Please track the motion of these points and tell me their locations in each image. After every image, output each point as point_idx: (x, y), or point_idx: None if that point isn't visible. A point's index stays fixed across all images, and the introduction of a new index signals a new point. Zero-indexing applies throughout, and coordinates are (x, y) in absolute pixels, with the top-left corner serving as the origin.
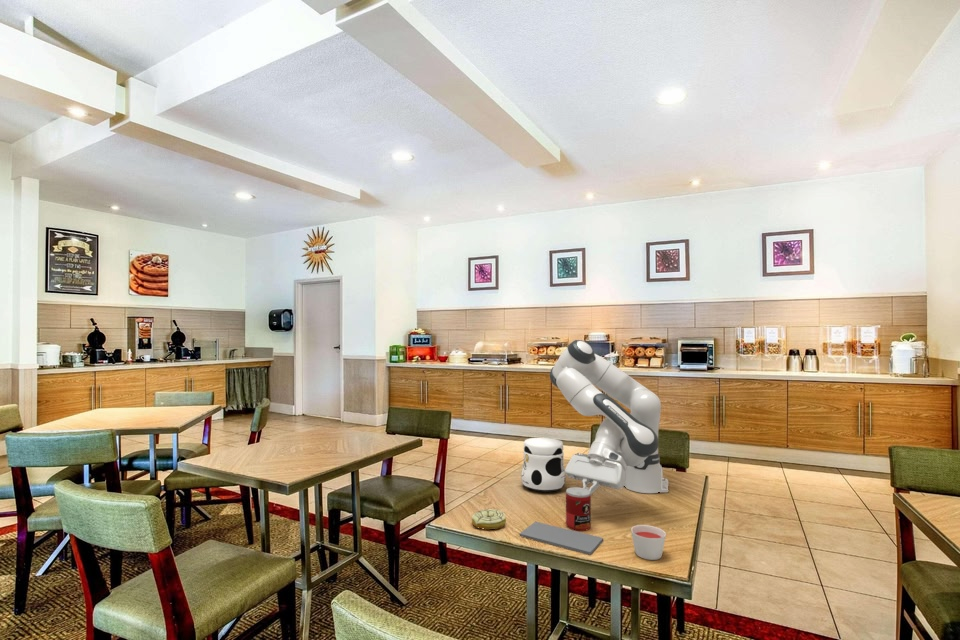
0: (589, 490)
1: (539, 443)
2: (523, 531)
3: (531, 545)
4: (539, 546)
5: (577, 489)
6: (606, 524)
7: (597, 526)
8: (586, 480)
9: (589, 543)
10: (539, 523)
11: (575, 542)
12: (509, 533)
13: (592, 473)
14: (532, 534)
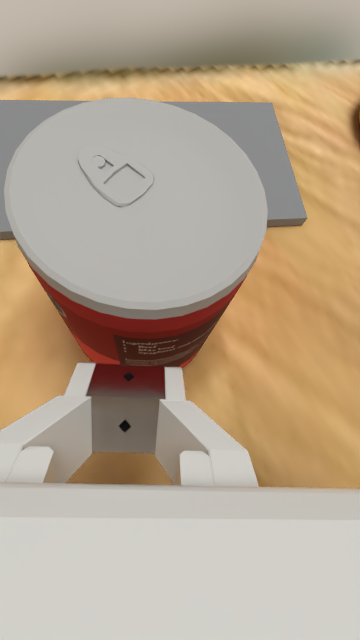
0: (88, 372)
1: None
2: (273, 121)
3: (193, 81)
4: (168, 87)
5: (189, 262)
6: None
7: (51, 382)
8: (181, 467)
9: (4, 156)
10: (280, 210)
11: None
12: (307, 114)
13: (56, 616)
14: (232, 117)
